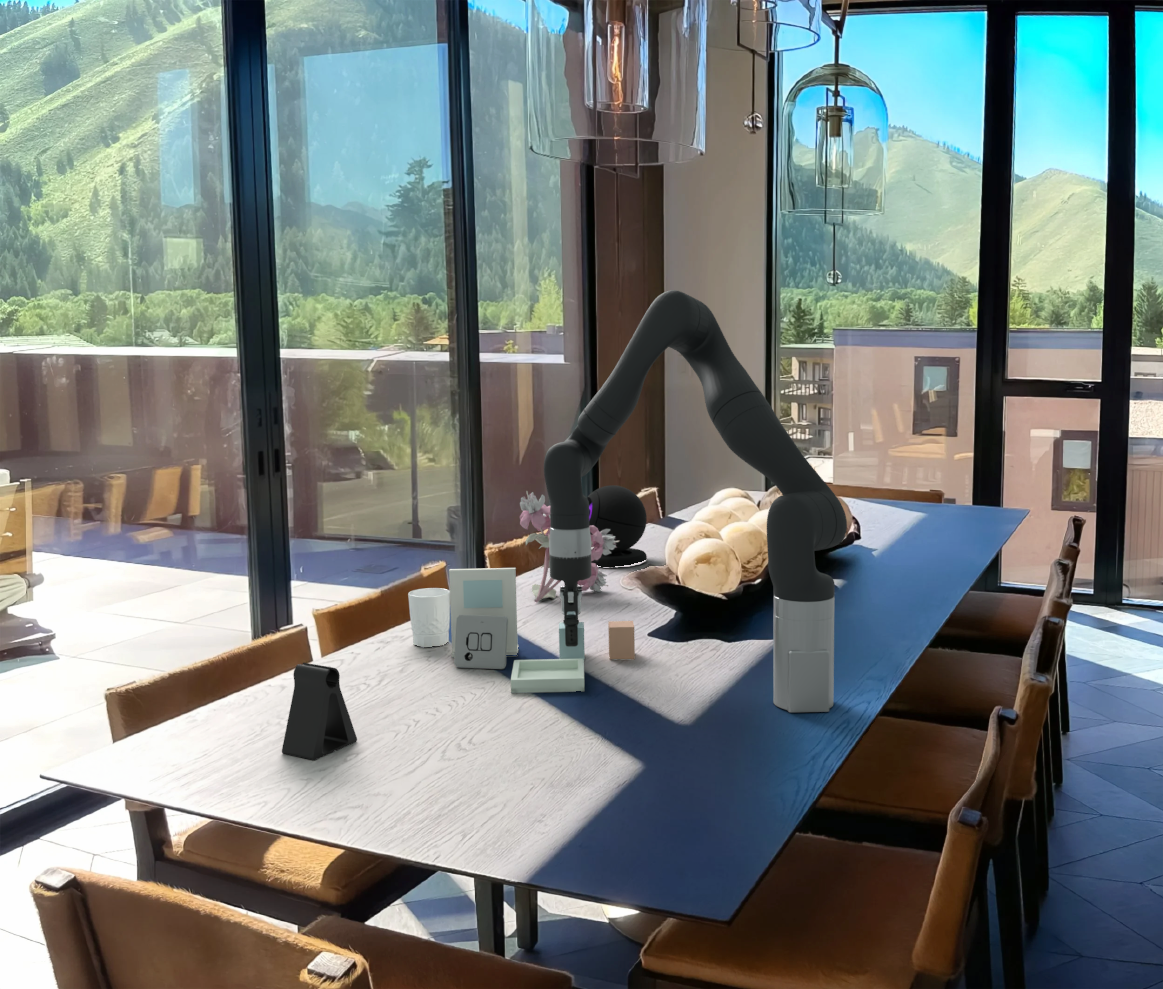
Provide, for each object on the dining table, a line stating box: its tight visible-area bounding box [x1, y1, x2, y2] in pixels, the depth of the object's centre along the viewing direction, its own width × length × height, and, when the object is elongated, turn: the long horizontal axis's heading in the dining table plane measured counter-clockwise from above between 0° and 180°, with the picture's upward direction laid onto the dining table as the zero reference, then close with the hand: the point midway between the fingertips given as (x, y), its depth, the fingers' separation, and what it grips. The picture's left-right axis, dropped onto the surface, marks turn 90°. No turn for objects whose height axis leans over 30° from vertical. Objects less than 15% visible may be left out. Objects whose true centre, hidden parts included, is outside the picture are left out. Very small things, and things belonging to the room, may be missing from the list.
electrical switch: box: [453, 615, 508, 670], centre depth 205 cm, size 9×5×9 cm, turn 78°
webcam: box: [586, 484, 648, 567], centre depth 299 cm, size 17×17×20 cm
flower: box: [519, 490, 619, 603], centre depth 260 cm, size 20×22×25 cm
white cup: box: [407, 587, 451, 648], centre depth 221 cm, size 8×8×10 cm
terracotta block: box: [607, 620, 636, 660], centre depth 210 cm, size 4×4×6 cm
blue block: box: [558, 621, 586, 660], centre depth 209 cm, size 4×4×6 cm
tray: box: [510, 658, 585, 694], centre depth 195 cm, size 12×12×2 cm
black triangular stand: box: [281, 662, 358, 761], centre depth 164 cm, size 9×6×12 cm, turn 149°
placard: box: [448, 567, 519, 658], centre depth 213 cm, size 5×12×16 cm, turn 91°
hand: (571, 639), depth 210 cm, fingers open, 8 cm apart
